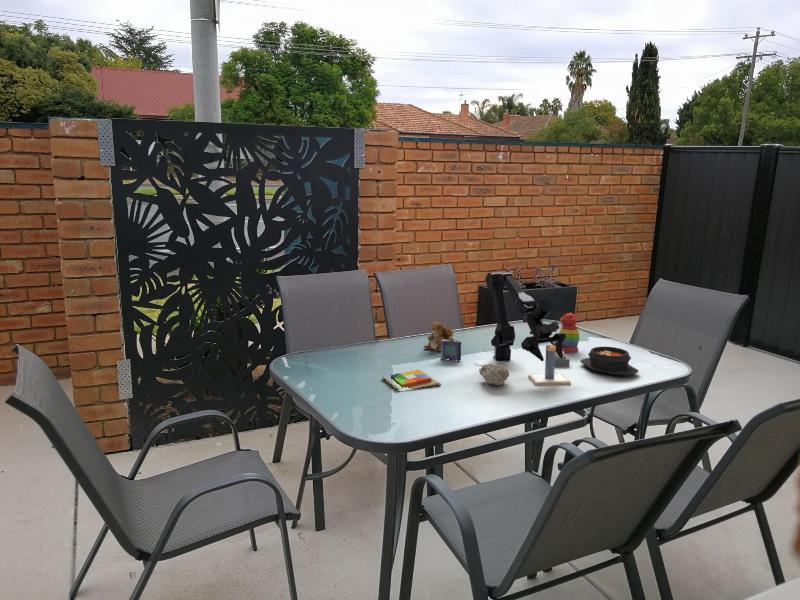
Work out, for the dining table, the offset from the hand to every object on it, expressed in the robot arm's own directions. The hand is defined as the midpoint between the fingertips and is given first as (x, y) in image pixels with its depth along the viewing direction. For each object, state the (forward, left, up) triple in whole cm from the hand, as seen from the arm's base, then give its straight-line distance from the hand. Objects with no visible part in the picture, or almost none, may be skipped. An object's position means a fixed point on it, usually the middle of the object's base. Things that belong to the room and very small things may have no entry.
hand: (552, 359), depth 235 cm
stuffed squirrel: (-38, +51, -10) cm, 65 cm away
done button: (+11, +23, -8) cm, 27 cm away
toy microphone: (-1, +1, -8) cm, 8 cm away
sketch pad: (-1, +1, -9) cm, 9 cm away
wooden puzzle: (-56, +3, -10) cm, 56 cm away
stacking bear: (+21, +44, -9) cm, 50 cm away
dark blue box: (-36, +32, -9) cm, 49 cm away
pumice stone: (-24, -2, -10) cm, 25 cm away
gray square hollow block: (+10, +23, -9) cm, 27 cm away
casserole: (+28, +13, -10) cm, 33 cm away
